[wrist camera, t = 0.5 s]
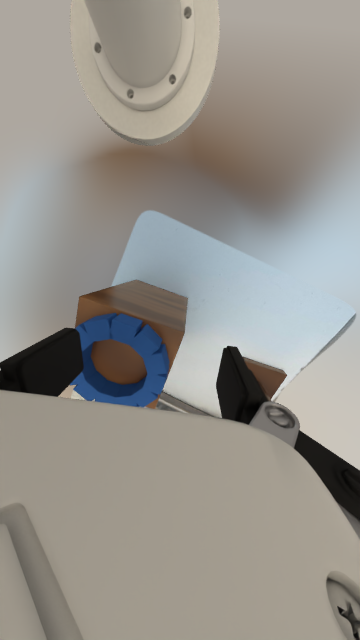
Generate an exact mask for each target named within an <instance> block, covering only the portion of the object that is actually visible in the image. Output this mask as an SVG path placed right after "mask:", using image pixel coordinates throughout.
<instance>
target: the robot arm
mask: <svg viewBox="0 0 360 640" xmlns="http://www.w3.org/2000/svg"><path fill="white" fill-rule="evenodd" d="M84 2H85V4H86V7H87V9H88V11H89V34H90V42H91V47H92V52H93V56H94V59H95V61H96V64H97V67H98V69H99V71H100V74H101V76H102V78H103V80H104V82H105V83H106V85H107V87H108V88H109V90H110V91H111V92H112V93H113V95H114V96H115V97H116V98H117V99H118V100H119V101H121V102H122V103H123V104H124V105H126V106H128V107H130V108H132V109H136V110H141V111H147V110H153V109H156V108H159V107H161V106H163V105H164V104H166V103H168V102H169V101H170V100H171V99H172V98H173V97H174V96H175V95H176V94H177V92H178V91H179V89H180V88H181V86H182V85H183V83H184V81H185V79H186V77H187V75H188V72H189V69H190V65H191V62H192V58H193V52H194V44H195V13H194V6H193V0H84ZM0 368H1V371H0V640H360V471H359V470H358V469H356V468H355V467H354V466H352V465H350V464H349V463H347V462H346V461H345V460H343V459H342V458H340V457H339V456H337V455H336V454H334V453H333V452H331V451H330V450H328V449H327V448H325V447H324V446H322V445H321V444H319V443H318V442H316V441H315V440H313V439H312V438H310V437H309V436H307V435H306V434H304V433H303V432H301V431H300V430H299V428H300V424H299V421H298V419H297V417H296V416H295V415H294V414H293V413H292V412H291V411H290V410H289V409H288V408H286V407H284V406H283V405H281V404H279V403H275V402H269V401H268V399H267V397H266V396H265V394H264V392H263V390H262V388H261V387H260V385H259V383H258V381H257V379H256V377H255V376H254V374H253V372H252V371H251V370H250V369H248V367H247V365H246V363H245V361H244V359H243V357H242V355H241V354H240V352H239V350H238V348H237V347H232V346H227V348H224V349H223V354H222V358H221V363H220V368H219V373H218V377H217V382H216V389H217V394H218V399H219V404H220V409H221V414H222V419H221V418H215V417H209V416H203V415H196V414H188V413H181V412H173V411H166V410H158V409H150V408H142V407H134V406H126V405H118V404H110V403H102V402H95V401H87V400H79V399H71V398H63V397H58V396H59V395H60V394H61V393H62V392H63V391H64V390H65V388H67V387H68V386H69V385H70V384H71V383H72V382H73V380H74V379H75V378H76V377H77V376H78V375H79V374H80V373H81V372H82V371H83V369H84V364H83V356H82V348H81V340H80V333H79V332H78V331H77V329H73V328H64V329H62V330H60V331H58V332H57V333H55V334H53V335H51V336H49V337H47V338H45V339H43V340H41V341H40V342H38V343H36V344H34V345H32V346H30V347H28V348H27V349H25V350H23V351H21V352H19V353H17V354H15V355H13V356H12V357H10V358H8V359H6V360H4V361H2V362H1V363H0ZM326 581H327V582H326Z"/></svg>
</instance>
